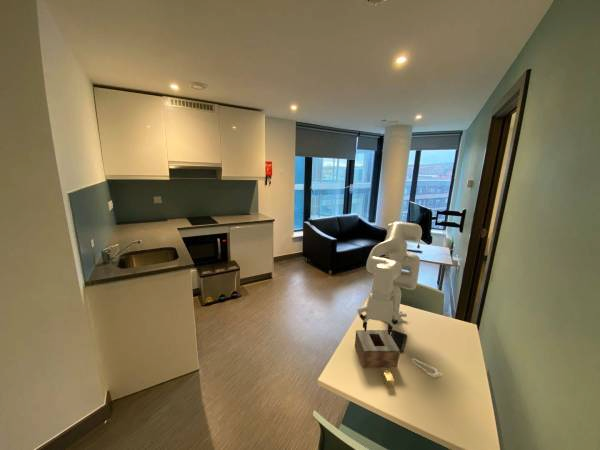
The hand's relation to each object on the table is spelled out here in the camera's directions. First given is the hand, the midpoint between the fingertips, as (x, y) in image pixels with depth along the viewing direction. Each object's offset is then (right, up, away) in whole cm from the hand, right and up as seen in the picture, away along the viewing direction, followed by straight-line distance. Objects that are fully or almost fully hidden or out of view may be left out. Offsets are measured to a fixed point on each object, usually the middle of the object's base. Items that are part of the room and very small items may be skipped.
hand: (376, 330), depth 101 cm
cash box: (+4, -19, +15) cm, 24 cm away
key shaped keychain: (+25, -21, +8) cm, 34 cm away
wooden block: (+5, -22, +1) cm, 23 cm away
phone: (+19, -17, +25) cm, 36 cm away
